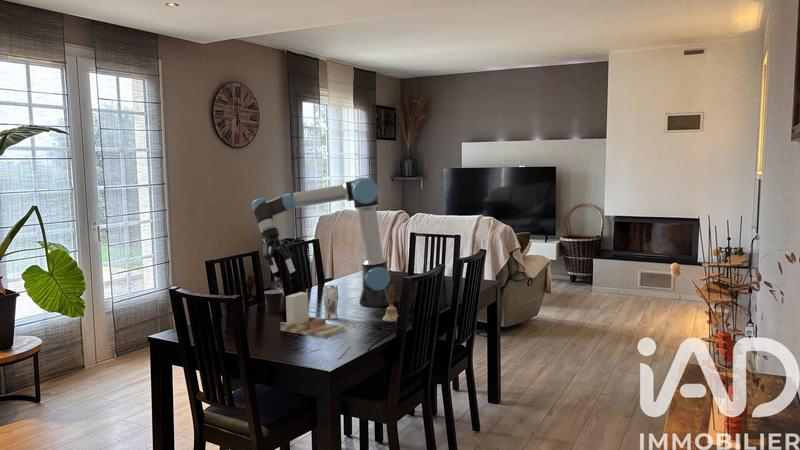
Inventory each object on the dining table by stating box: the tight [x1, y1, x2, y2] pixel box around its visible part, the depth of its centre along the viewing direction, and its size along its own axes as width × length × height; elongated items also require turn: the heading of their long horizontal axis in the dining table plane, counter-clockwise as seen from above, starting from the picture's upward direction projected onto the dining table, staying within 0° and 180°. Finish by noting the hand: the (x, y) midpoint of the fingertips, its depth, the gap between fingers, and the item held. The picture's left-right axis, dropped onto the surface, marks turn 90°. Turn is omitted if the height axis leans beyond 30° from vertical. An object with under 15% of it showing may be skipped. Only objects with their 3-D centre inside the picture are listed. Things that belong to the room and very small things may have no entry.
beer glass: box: [322, 284, 339, 321], centre depth 276 cm, size 7×7×15 cm
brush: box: [381, 284, 399, 323], centre depth 273 cm, size 8×8×16 cm
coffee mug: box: [264, 289, 283, 315], centre depth 291 cm, size 12×9×10 cm
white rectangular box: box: [285, 291, 310, 325], centre depth 261 cm, size 5×10×13 cm, turn 150°
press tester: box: [279, 315, 346, 339], centre depth 258 cm, size 24×14×4 cm, turn 60°
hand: (284, 272), depth 271 cm, fingers open, 13 cm apart
